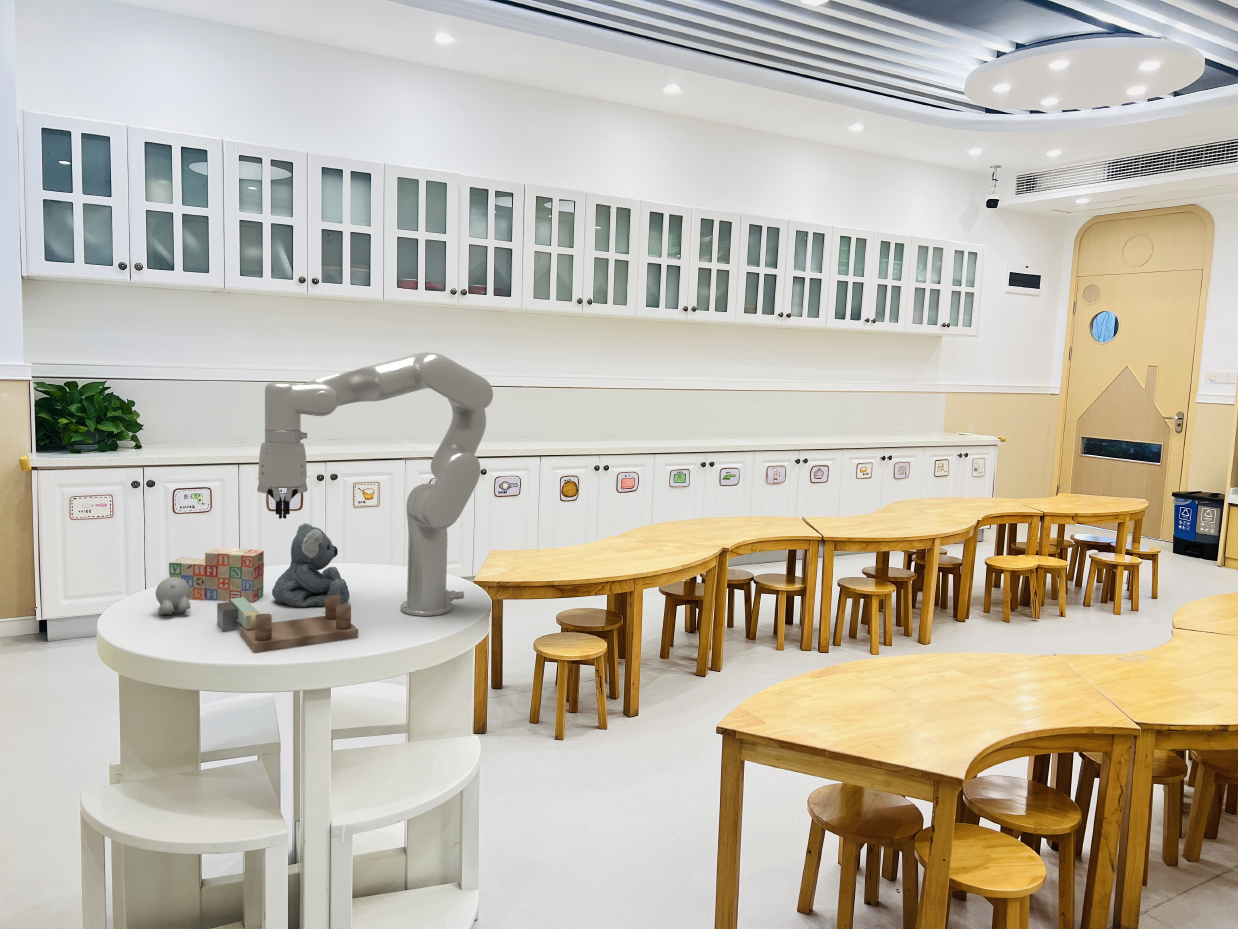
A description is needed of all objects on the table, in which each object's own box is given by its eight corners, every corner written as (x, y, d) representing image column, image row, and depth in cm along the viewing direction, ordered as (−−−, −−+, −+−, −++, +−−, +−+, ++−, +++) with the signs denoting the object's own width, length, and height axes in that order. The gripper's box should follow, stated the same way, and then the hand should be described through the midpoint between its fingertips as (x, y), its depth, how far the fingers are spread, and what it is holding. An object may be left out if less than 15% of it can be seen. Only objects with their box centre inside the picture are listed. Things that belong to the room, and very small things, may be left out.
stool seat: (339, 622, 206) (340, 593, 205) (358, 637, 196) (358, 607, 195) (240, 635, 193) (240, 604, 193) (253, 653, 183) (253, 620, 182)
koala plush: (351, 607, 219) (352, 530, 216) (274, 613, 211) (274, 533, 209) (341, 589, 234) (342, 517, 232) (269, 594, 226) (269, 519, 224)
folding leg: (261, 627, 192) (261, 613, 192) (245, 630, 190) (245, 615, 190) (244, 610, 204) (244, 596, 204) (229, 611, 203) (229, 598, 202)
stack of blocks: (168, 598, 218) (168, 550, 217) (181, 592, 224) (181, 545, 223) (253, 603, 218) (253, 555, 216) (264, 596, 224) (264, 549, 223)
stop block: (231, 622, 202) (231, 601, 201) (237, 630, 197) (237, 608, 196) (217, 624, 200) (217, 603, 199) (222, 632, 195) (222, 610, 194)
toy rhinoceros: (185, 616, 213) (183, 581, 215) (193, 609, 204) (191, 573, 206) (152, 619, 209) (150, 584, 211) (159, 613, 200) (157, 576, 201)
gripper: (317, 436, 203) (317, 514, 205) (247, 435, 198) (247, 515, 200) (318, 439, 196) (317, 520, 198) (245, 438, 191) (246, 521, 193)
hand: (282, 517), depth 199 cm, fingers closed
